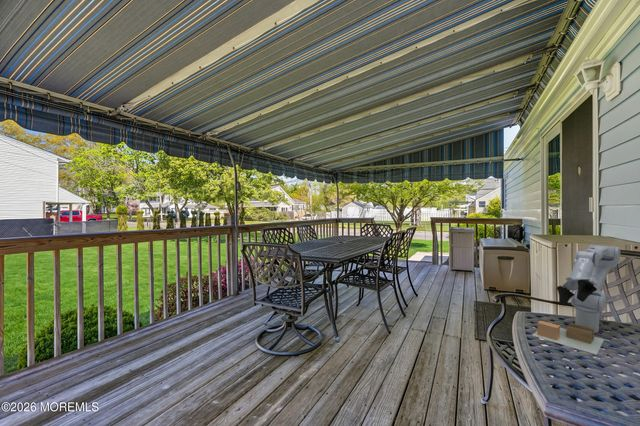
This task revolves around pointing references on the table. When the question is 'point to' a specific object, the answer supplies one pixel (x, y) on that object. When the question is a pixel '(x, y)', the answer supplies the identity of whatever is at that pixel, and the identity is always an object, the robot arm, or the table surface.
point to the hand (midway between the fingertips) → (571, 301)
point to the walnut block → (580, 333)
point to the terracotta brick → (548, 330)
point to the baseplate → (575, 342)
